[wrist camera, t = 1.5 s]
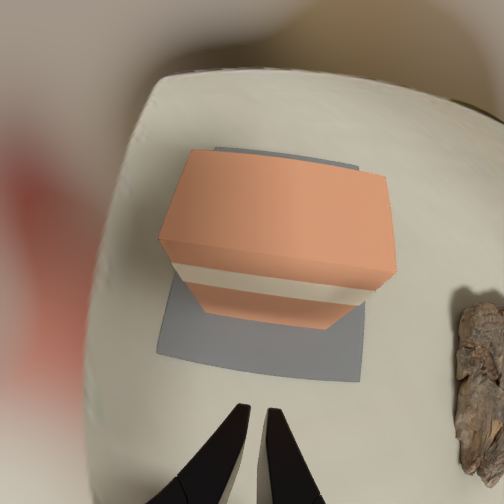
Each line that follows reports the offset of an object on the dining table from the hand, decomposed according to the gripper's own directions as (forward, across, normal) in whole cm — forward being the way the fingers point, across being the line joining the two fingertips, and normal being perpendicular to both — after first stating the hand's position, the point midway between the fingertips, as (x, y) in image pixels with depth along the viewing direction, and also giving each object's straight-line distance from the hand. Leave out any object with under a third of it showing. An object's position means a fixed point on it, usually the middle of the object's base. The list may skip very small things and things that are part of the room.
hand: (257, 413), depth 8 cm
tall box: (+14, 0, +3) cm, 15 cm away
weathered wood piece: (+8, -25, +10) cm, 29 cm away
